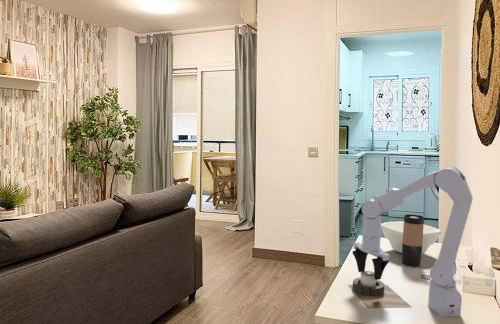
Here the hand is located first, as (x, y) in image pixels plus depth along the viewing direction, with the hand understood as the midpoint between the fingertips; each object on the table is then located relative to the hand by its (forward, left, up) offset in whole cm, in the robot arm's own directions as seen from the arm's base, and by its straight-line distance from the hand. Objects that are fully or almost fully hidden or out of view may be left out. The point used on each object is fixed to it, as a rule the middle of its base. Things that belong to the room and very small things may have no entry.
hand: (369, 275), depth 140 cm
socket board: (-4, -1, -6) cm, 8 cm away
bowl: (+44, -36, -6) cm, 57 cm away
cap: (0, 0, -5) cm, 5 cm away
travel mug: (+28, -29, -6) cm, 41 cm away
